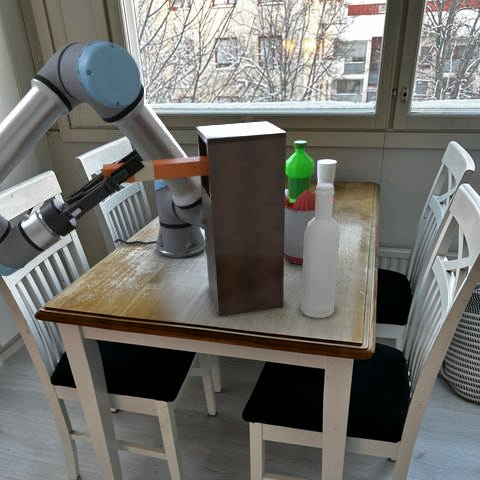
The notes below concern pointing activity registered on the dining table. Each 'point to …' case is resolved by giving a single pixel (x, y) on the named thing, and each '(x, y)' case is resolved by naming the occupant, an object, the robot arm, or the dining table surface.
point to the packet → (165, 169)
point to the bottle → (320, 257)
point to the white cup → (326, 171)
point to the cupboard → (244, 215)
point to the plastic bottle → (299, 171)
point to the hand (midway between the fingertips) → (139, 158)
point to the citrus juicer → (298, 224)
